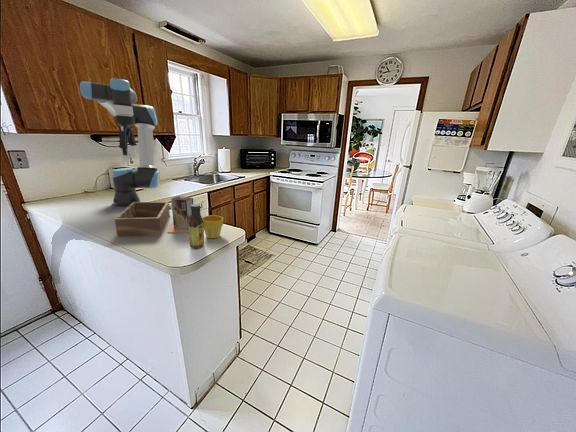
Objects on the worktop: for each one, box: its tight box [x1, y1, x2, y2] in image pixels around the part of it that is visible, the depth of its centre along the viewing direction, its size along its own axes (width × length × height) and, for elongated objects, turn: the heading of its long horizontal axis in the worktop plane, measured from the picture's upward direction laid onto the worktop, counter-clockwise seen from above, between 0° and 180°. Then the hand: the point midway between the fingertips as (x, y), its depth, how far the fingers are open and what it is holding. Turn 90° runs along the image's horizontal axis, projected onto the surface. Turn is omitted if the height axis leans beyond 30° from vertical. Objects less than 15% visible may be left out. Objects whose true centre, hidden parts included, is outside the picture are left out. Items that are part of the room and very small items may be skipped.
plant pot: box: [202, 214, 224, 239], centre depth 120 cm, size 10×10×10 cm
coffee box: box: [171, 195, 194, 230], centre depth 126 cm, size 9×6×16 cm
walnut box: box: [114, 201, 171, 238], centre depth 126 cm, size 28×18×9 cm, turn 17°
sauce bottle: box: [188, 203, 205, 250], centre depth 107 cm, size 6×6×20 cm
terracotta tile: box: [167, 221, 189, 234], centre depth 129 cm, size 14×14×1 cm
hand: (130, 160), depth 122 cm, fingers open, 13 cm apart
